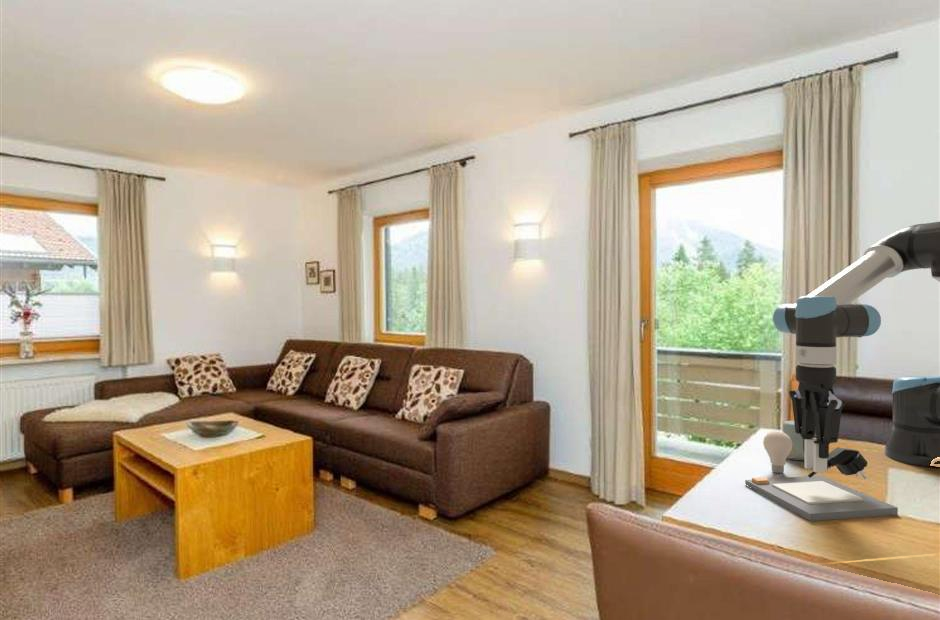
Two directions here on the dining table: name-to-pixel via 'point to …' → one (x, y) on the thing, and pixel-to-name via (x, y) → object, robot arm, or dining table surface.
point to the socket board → (820, 498)
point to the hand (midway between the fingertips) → (815, 469)
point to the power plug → (846, 462)
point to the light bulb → (777, 449)
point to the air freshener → (794, 441)
